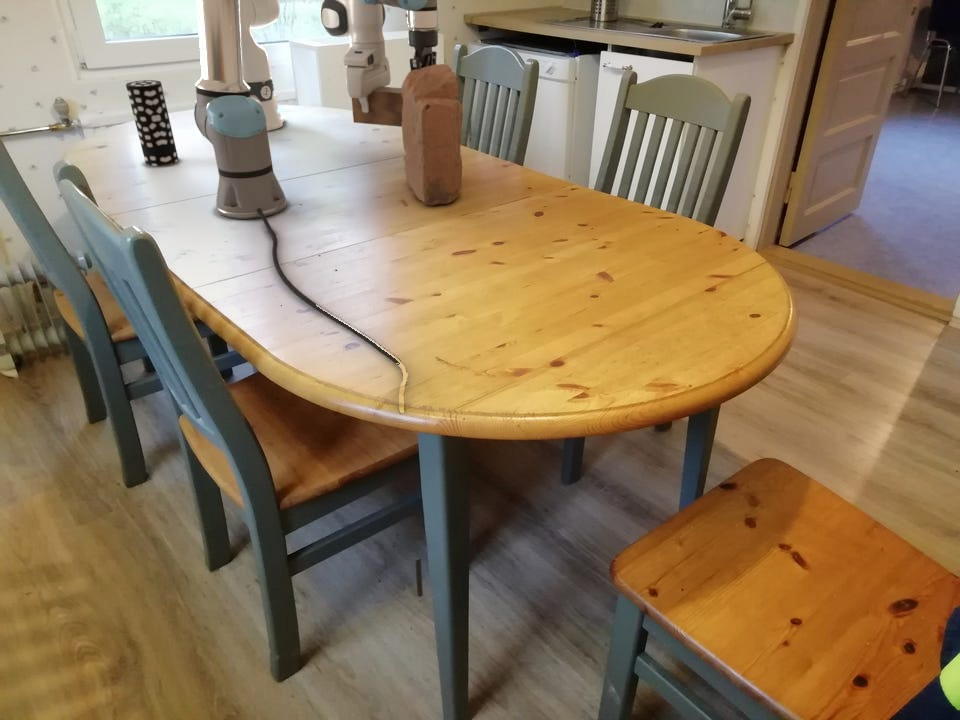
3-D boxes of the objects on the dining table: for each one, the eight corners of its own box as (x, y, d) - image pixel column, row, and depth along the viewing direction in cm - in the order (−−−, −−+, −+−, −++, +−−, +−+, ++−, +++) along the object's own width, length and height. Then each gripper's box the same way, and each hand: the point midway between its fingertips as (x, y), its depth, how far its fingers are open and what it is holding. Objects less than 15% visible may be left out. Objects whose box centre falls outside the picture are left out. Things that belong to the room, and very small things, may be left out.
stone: (471, 203, 161) (470, 74, 147) (425, 208, 158) (419, 77, 144) (446, 179, 178) (443, 61, 164) (404, 183, 175) (396, 64, 161)
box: (444, 124, 186) (444, 91, 181) (437, 129, 181) (436, 96, 176) (363, 117, 192) (360, 85, 187) (353, 122, 187) (350, 89, 182)
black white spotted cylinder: (184, 157, 190) (167, 80, 179) (169, 166, 183) (151, 87, 172) (155, 156, 190) (136, 79, 179) (139, 165, 183) (119, 86, 172)
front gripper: (421, 23, 180) (424, 114, 193) (394, 33, 165) (399, 131, 177) (449, 24, 179) (450, 116, 191) (423, 34, 163) (426, 133, 176)
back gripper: (373, 47, 188) (376, 100, 195) (339, 59, 171) (345, 116, 179) (394, 48, 186) (397, 101, 194) (363, 60, 170) (367, 118, 177)
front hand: (425, 123), depth 184 cm, fingers closed on box, 6 cm apart
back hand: (372, 109), depth 186 cm, fingers closed on box, 6 cm apart
